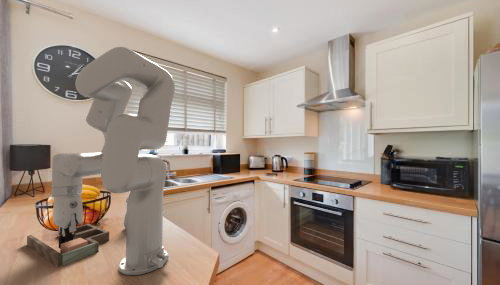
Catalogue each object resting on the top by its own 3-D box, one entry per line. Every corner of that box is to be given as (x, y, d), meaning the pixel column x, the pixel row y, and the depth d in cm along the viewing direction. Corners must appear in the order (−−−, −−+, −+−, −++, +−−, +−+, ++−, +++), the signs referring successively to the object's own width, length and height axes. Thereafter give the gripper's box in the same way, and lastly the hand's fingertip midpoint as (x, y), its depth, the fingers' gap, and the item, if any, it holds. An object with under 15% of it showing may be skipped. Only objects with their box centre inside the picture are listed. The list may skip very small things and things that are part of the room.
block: (87, 253, 65) (87, 240, 65) (67, 261, 61) (68, 247, 61) (79, 249, 67) (80, 237, 67) (60, 257, 63) (60, 243, 63)
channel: (118, 243, 71) (118, 235, 71) (57, 267, 57) (58, 256, 57) (82, 228, 84) (82, 221, 84) (26, 244, 71) (27, 235, 71)
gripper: (91, 191, 66) (90, 247, 66) (71, 186, 74) (70, 237, 73) (62, 195, 60) (60, 258, 59) (43, 190, 67) (41, 246, 67)
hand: (65, 247), depth 66 cm, fingers closed
